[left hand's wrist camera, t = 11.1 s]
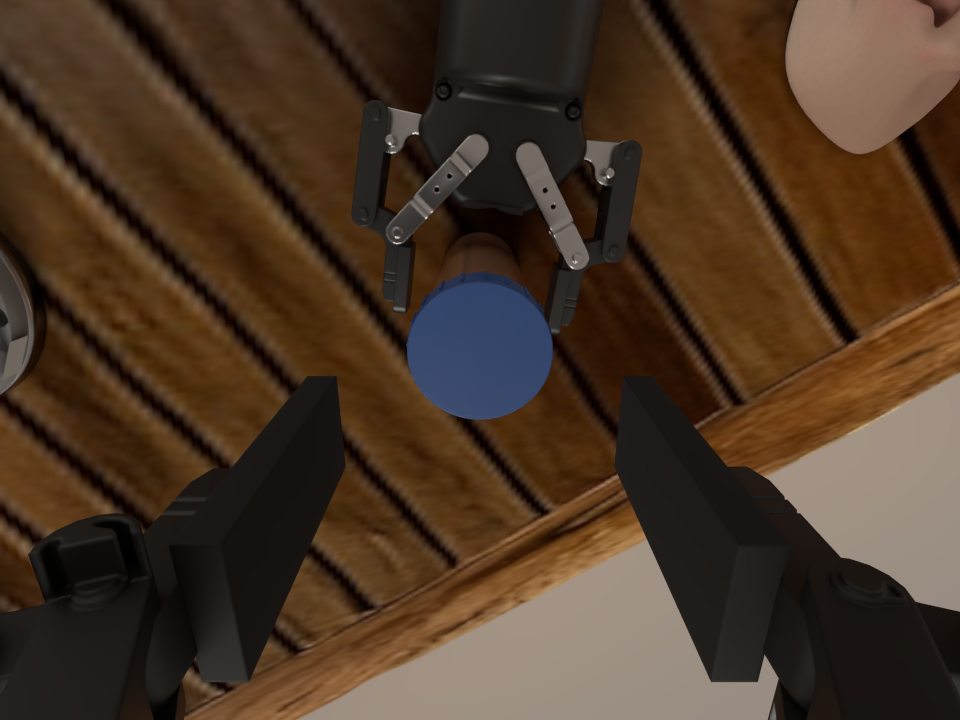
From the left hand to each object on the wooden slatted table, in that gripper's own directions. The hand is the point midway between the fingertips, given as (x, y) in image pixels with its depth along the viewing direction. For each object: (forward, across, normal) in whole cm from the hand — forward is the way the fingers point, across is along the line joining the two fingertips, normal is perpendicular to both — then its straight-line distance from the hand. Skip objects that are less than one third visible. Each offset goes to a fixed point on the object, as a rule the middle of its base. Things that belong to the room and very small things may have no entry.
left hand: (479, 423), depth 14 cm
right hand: (+16, 0, -2) cm, 16 cm away
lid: (+6, 0, 0) cm, 6 cm away
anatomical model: (+22, +23, +14) cm, 35 cm away
